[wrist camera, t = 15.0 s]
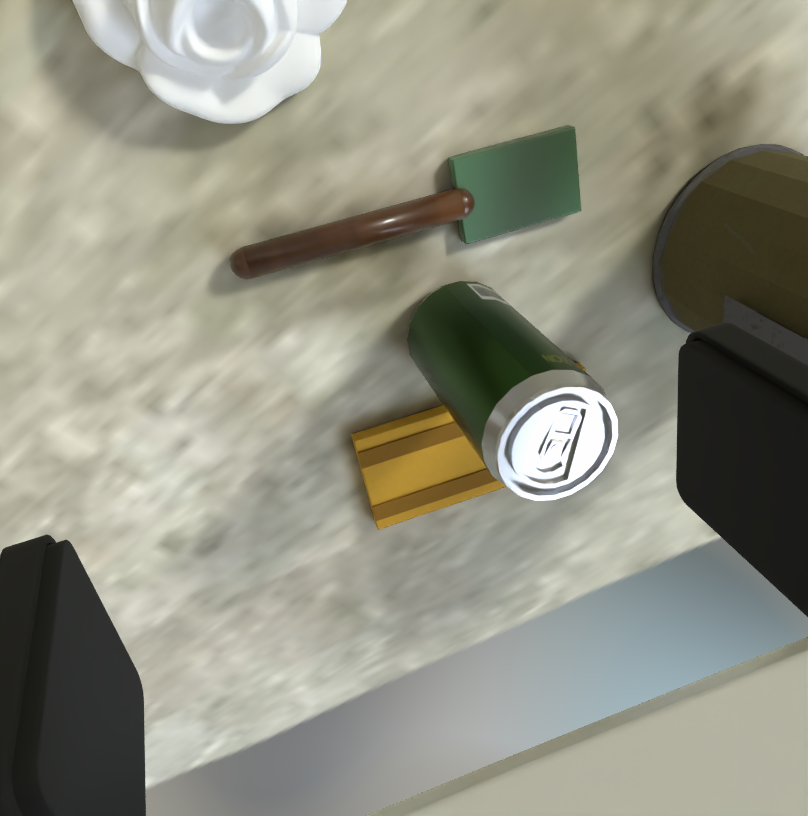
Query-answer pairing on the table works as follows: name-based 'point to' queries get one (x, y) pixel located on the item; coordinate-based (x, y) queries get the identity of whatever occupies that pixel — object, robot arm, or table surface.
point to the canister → (740, 248)
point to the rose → (215, 49)
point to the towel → (419, 466)
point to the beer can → (512, 392)
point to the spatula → (447, 204)
